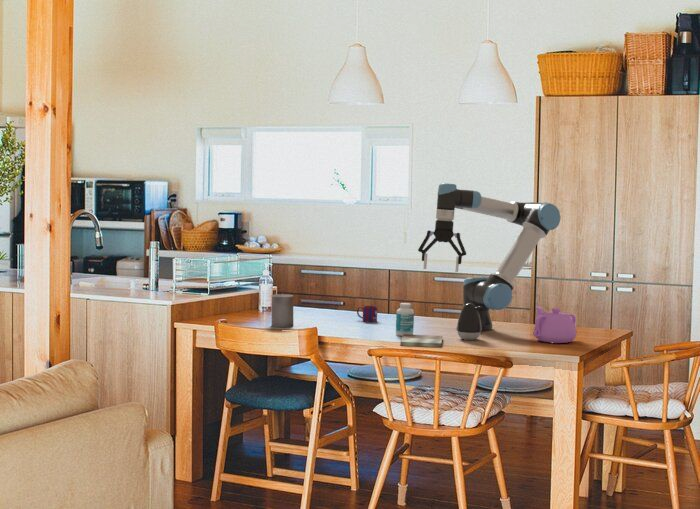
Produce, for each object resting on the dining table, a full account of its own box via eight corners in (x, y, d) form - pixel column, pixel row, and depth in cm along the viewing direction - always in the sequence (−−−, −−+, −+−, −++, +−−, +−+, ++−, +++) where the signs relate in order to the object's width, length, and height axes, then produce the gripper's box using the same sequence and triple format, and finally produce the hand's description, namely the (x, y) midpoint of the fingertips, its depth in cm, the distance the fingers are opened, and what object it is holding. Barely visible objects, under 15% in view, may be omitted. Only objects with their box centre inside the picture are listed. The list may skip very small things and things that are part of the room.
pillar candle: (286, 323, 422) (286, 290, 421) (297, 326, 414) (297, 292, 413) (267, 325, 417) (267, 291, 416) (278, 328, 409) (278, 294, 408)
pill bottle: (400, 337, 391) (400, 304, 390) (392, 334, 398) (393, 302, 397) (416, 336, 394) (417, 304, 393) (408, 333, 401) (409, 302, 400)
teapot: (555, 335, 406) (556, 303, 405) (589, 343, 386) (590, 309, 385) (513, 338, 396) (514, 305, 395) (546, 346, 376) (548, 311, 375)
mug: (372, 322, 432) (372, 308, 432) (353, 320, 438) (354, 306, 438) (379, 321, 438) (380, 306, 438) (361, 319, 444) (362, 304, 443)
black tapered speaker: (475, 342, 382) (476, 305, 381) (452, 339, 387) (453, 303, 386) (485, 339, 390) (486, 302, 389) (462, 336, 396) (464, 300, 395)
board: (442, 339, 387) (442, 335, 387) (441, 347, 367) (441, 343, 367) (403, 337, 389) (403, 334, 389) (400, 345, 369) (400, 341, 369)
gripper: (413, 217, 395) (410, 268, 395) (473, 222, 388) (468, 273, 389) (417, 218, 402) (413, 267, 403) (475, 222, 395) (471, 272, 396)
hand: (440, 270), depth 396 cm, fingers open, 13 cm apart
